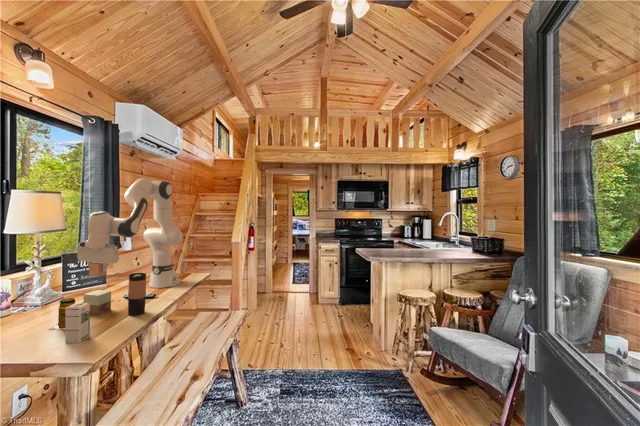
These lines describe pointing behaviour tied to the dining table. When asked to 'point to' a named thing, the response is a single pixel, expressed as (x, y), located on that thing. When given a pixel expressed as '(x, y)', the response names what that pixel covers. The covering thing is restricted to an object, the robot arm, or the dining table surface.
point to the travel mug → (136, 294)
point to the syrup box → (77, 322)
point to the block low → (100, 308)
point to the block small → (96, 269)
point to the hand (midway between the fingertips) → (98, 270)
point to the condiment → (64, 311)
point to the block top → (97, 297)
